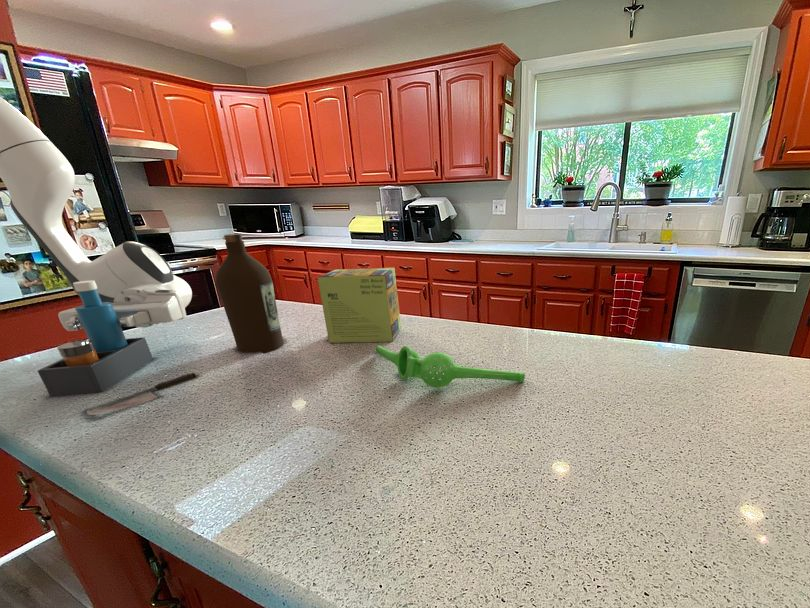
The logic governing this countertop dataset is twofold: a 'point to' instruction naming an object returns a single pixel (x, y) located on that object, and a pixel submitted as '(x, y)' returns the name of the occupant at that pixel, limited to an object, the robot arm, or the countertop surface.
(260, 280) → the olive oil
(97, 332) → the water bottle
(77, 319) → the robot arm
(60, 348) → the spice jar
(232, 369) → the countertop surface
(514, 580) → the countertop surface
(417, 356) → the lime squeezer
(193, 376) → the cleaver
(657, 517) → the countertop surface
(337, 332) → the protein box
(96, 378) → the cup holder
